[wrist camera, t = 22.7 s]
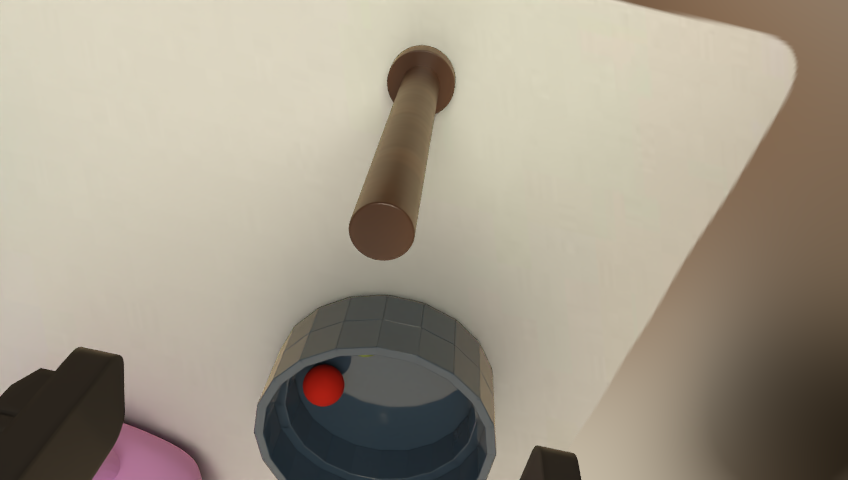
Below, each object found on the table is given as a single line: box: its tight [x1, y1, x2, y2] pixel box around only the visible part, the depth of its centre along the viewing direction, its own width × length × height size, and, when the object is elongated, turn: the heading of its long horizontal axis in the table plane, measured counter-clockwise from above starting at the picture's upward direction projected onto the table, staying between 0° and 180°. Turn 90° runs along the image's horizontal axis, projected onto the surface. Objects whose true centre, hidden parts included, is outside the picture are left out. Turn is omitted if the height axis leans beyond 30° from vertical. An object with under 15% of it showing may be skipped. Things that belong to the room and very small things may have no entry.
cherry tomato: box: [303, 364, 344, 406], centre depth 43 cm, size 3×3×3 cm
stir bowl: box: [254, 295, 496, 480], centre depth 43 cm, size 15×15×6 cm
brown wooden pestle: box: [349, 45, 455, 261], centre depth 27 cm, size 4×4×18 cm
